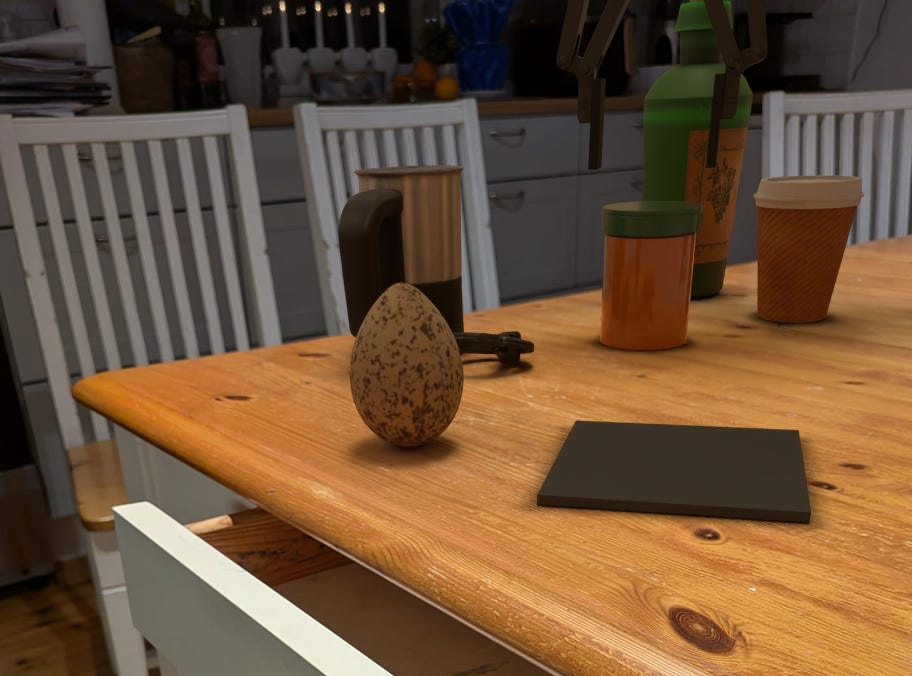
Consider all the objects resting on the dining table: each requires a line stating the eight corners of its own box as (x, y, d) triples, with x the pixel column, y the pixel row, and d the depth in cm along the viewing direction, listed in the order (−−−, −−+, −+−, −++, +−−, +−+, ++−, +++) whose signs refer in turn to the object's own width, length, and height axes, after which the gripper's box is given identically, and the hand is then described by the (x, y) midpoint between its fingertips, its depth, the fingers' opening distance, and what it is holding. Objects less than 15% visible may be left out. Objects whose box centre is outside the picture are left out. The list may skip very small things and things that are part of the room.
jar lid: (703, 223, 84) (705, 200, 83) (699, 235, 77) (701, 210, 76) (607, 224, 86) (608, 201, 85) (594, 236, 79) (595, 211, 78)
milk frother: (380, 338, 91) (369, 164, 84) (546, 339, 88) (549, 158, 80) (337, 376, 79) (319, 177, 71) (528, 379, 76) (530, 170, 68)
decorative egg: (456, 463, 58) (451, 292, 54) (343, 461, 60) (328, 294, 55) (472, 428, 65) (469, 272, 60) (369, 427, 66) (358, 274, 61)
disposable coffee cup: (864, 322, 89) (889, 179, 83) (767, 329, 88) (786, 185, 82) (812, 304, 97) (831, 173, 91) (723, 310, 96) (737, 178, 90)
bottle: (728, 303, 99) (763, -24, 86) (625, 301, 102) (642, -14, 89) (734, 285, 108) (767, -14, 94) (639, 284, 111) (657, -5, 97)
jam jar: (688, 332, 88) (699, 206, 83) (684, 351, 82) (696, 216, 76) (605, 331, 90) (611, 207, 85) (594, 349, 84) (600, 217, 78)
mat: (797, 439, 60) (799, 429, 60) (809, 523, 48) (811, 512, 48) (575, 428, 64) (575, 420, 63) (536, 505, 52) (536, 494, 52)
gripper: (835, -191, 68) (787, 162, 79) (538, -160, 74) (532, 166, 85) (844, -219, 62) (791, 168, 73) (518, -183, 67) (515, 172, 79)
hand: (652, 167), depth 79 cm, fingers open, 9 cm apart
